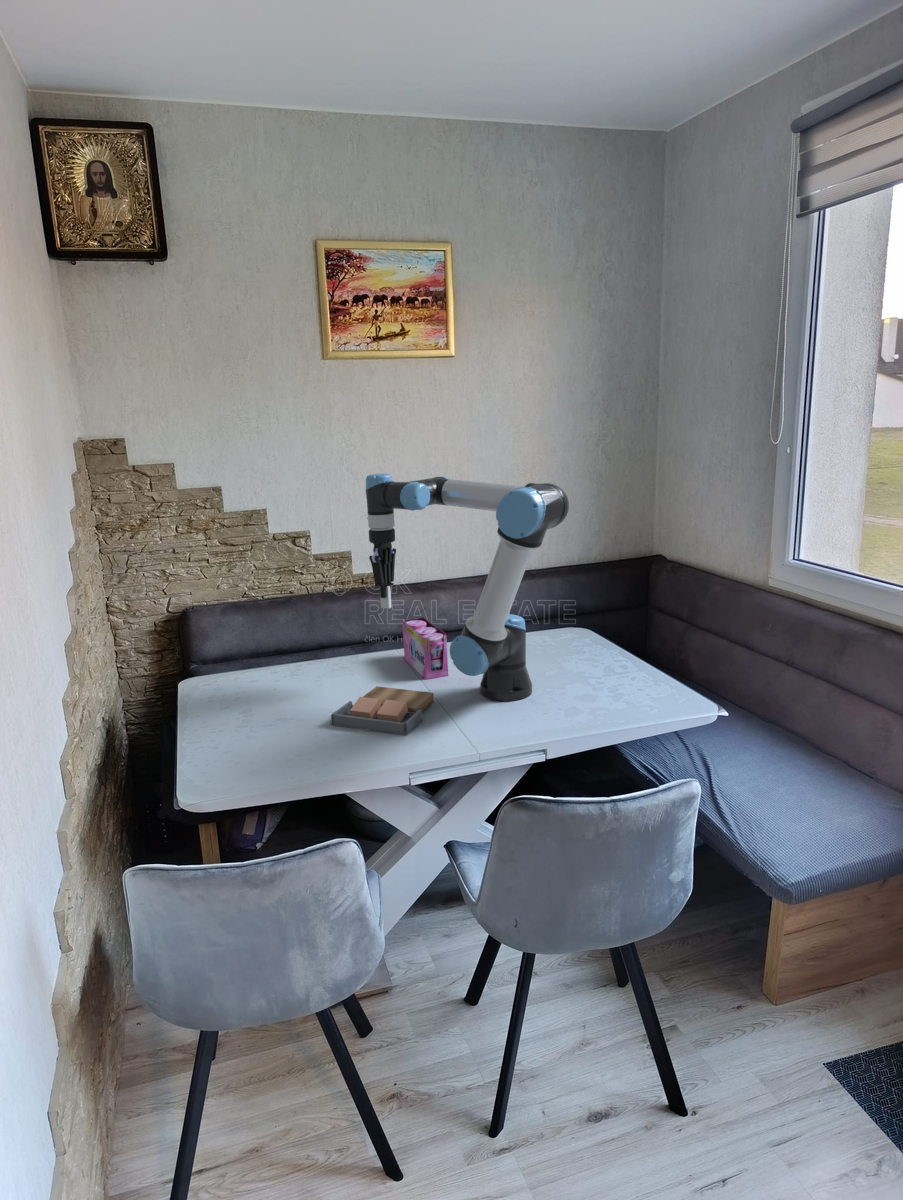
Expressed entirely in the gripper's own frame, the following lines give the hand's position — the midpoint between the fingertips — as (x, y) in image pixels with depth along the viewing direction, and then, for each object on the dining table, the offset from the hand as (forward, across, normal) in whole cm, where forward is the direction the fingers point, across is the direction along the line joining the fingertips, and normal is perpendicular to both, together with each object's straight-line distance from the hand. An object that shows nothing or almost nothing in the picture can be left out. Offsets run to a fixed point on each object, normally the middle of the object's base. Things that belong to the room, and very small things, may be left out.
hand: (386, 607), depth 227 cm
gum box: (+25, -18, +3) cm, 31 cm away
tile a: (+23, +24, +13) cm, 36 cm away
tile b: (+23, +24, +5) cm, 34 cm away
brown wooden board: (+24, +15, +9) cm, 30 cm away
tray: (+24, +26, +9) cm, 37 cm away
